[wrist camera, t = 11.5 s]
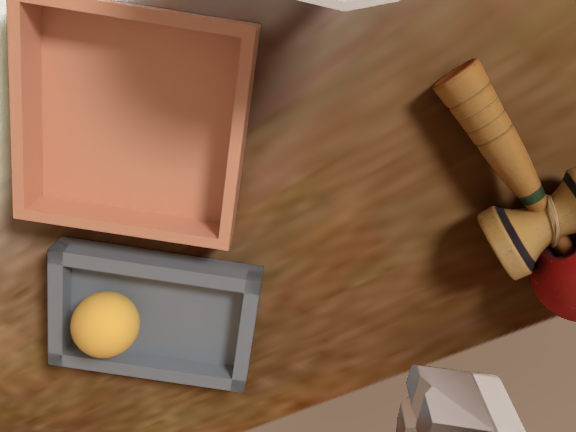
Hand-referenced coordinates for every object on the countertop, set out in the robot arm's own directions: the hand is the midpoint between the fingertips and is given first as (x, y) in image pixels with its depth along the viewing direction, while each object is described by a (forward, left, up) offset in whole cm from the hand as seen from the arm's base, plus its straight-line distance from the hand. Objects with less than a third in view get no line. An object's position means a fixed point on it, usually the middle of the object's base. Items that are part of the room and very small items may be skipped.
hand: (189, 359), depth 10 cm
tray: (+6, +15, -26) cm, 31 cm away
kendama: (-16, +2, -26) cm, 31 cm away
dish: (+8, +2, -26) cm, 27 cm away
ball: (+9, +15, -23) cm, 29 cm away
